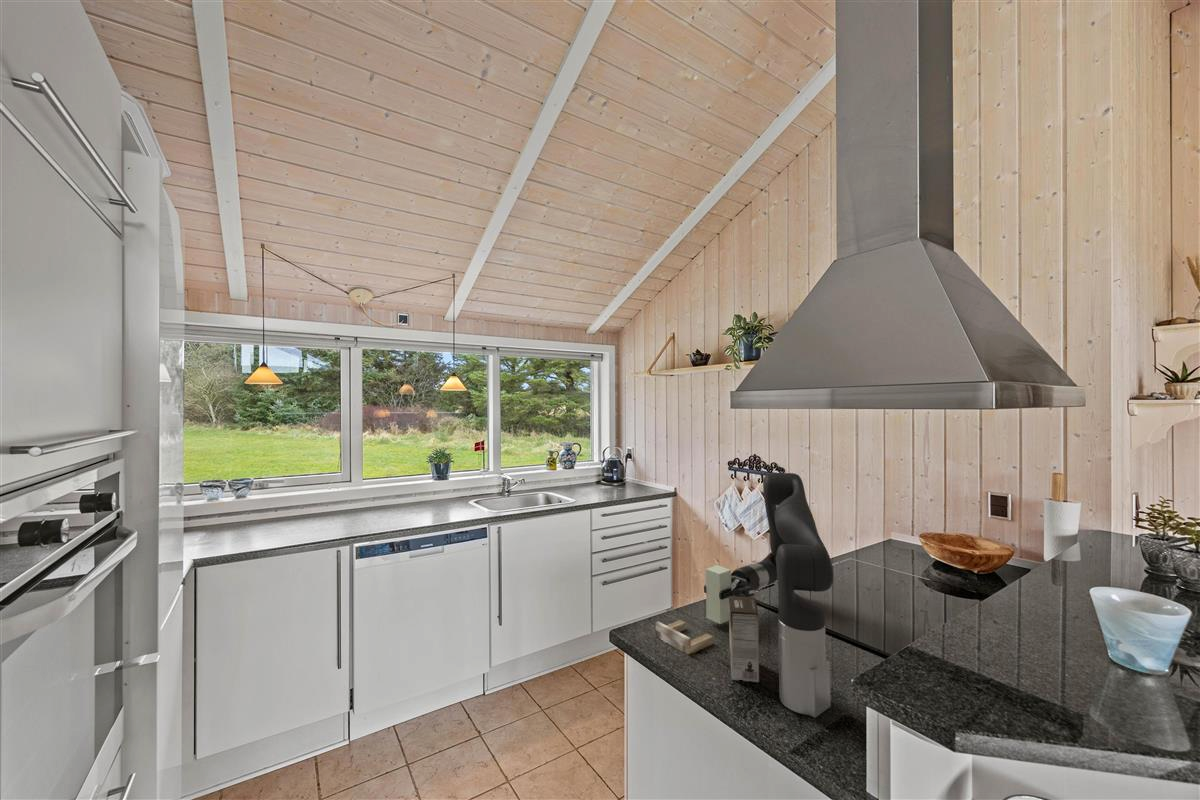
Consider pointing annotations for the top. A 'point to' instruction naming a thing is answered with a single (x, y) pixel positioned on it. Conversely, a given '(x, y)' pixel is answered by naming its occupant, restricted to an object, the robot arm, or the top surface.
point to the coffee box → (744, 638)
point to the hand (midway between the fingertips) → (712, 592)
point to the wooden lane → (681, 637)
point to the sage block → (717, 593)
